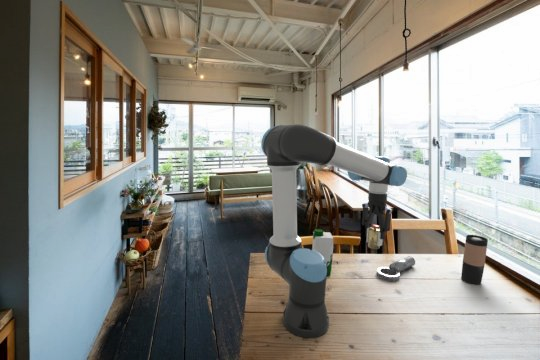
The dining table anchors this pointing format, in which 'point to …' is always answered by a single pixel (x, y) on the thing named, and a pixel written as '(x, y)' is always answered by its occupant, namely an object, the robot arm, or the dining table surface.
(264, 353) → the dining table surface
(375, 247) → the yellow jar pink lid
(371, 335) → the dining table surface
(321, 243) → the milk carton
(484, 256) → the travel mug
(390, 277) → the grey ring-headed tool
